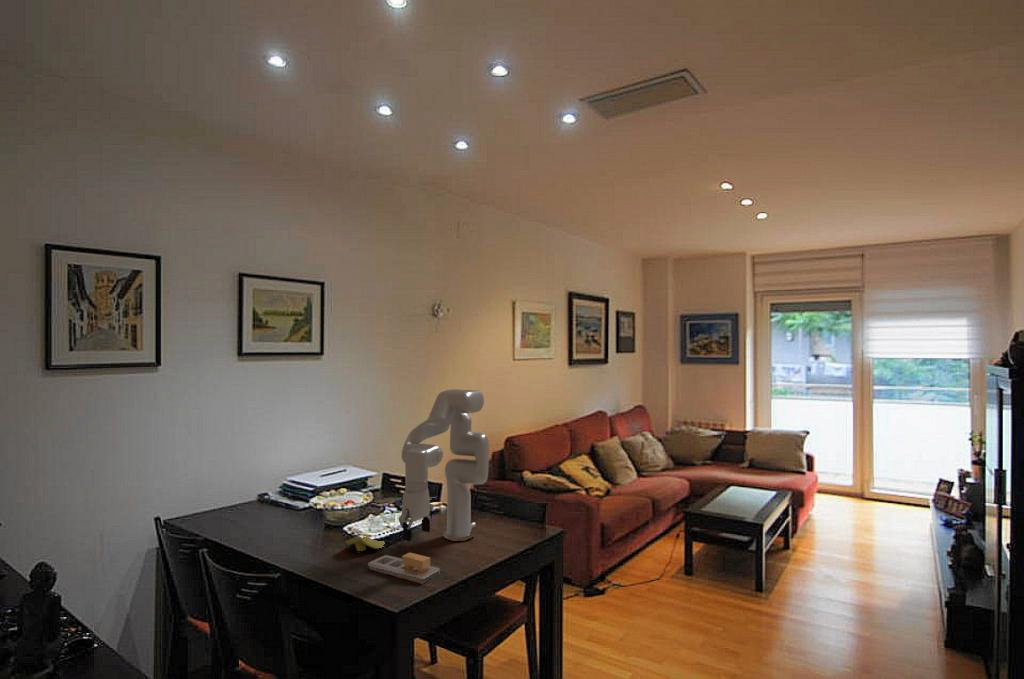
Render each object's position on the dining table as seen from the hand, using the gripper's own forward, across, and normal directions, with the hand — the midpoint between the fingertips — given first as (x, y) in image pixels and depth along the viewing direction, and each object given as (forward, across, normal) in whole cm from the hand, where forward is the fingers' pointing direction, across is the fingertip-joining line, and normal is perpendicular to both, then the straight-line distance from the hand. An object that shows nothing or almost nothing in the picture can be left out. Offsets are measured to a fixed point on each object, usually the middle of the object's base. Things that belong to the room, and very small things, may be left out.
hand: (416, 535), depth 205 cm
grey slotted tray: (+14, +1, -5) cm, 15 cm away
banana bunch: (+14, -12, -33) cm, 38 cm away
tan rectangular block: (+14, +1, 0) cm, 14 cm away
